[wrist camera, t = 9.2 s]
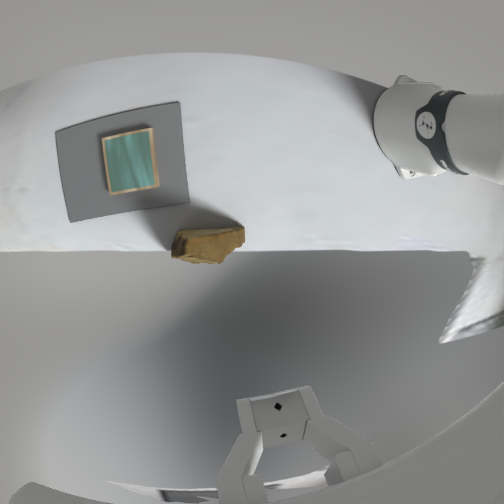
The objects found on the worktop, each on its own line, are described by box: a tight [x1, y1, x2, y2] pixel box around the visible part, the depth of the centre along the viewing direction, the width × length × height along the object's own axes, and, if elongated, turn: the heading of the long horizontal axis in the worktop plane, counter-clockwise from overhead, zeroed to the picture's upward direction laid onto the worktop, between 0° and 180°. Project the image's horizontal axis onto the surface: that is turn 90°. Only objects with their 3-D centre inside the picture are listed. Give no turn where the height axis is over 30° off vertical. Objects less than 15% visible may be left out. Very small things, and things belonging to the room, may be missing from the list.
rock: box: [171, 226, 245, 264], centre depth 37 cm, size 11×9×10 cm
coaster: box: [102, 128, 160, 196], centre depth 32 cm, size 2×8×7 cm
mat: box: [56, 102, 190, 223], centre depth 32 cm, size 19×14×1 cm
